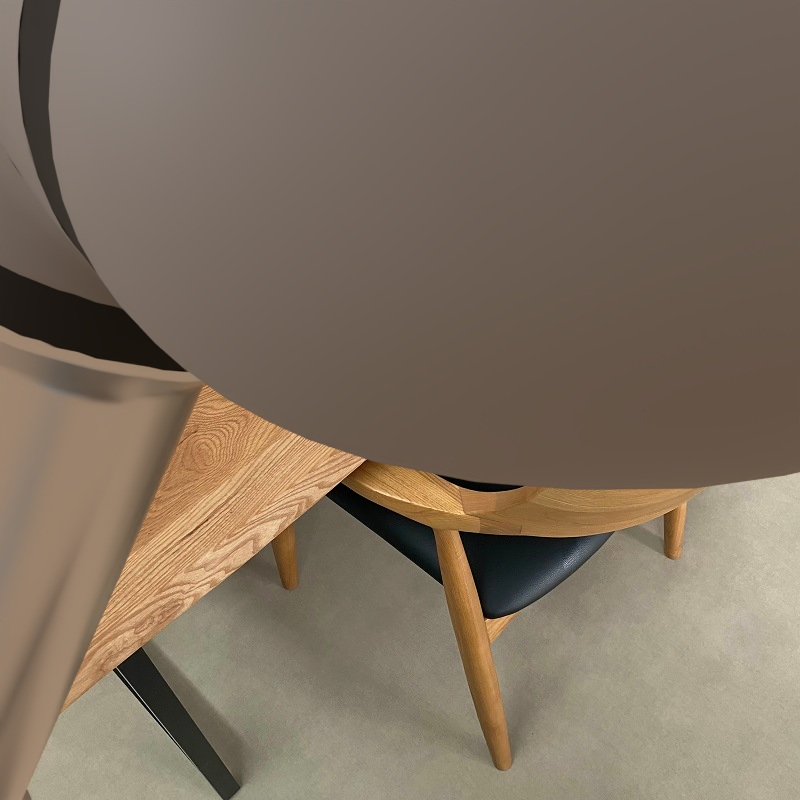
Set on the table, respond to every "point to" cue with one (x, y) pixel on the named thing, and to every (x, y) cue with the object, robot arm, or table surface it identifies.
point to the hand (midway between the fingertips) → (357, 139)
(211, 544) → the table surface
